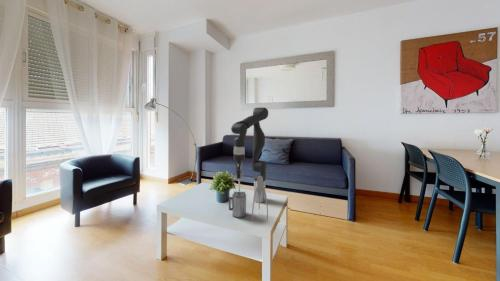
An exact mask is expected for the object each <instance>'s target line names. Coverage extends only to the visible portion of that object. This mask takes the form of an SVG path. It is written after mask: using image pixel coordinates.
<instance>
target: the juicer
mask: <svg viewBox="0 0 500 281" xmlns="http://www.w3.org/2000/svg"><path fill="white" fill-rule="evenodd" d="M257 188H258V189H257ZM257 188H256V189H255V193H254V192H253V198H252V200H253V201H252V210H251V214H252V215H251V216H252V217H251V219H252V220H251V221H252V222H253V221H254V208H255V201H254V200H255V195H256V192H257V191H258V192H259V203H258V209H260V207H261V206H260V205H261V203H260V195H261V192H262V191H264V194H265V204H266V205H265V206H266V220H267V221H269V206H268V198H267V193H266V187H265V188H263V177H262V176H258V178H257ZM262 188H263V189H262Z"/></svg>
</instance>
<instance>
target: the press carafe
mask: <svg viewBox="0 0 500 281" xmlns="http://www.w3.org/2000/svg"><path fill="white" fill-rule="evenodd" d="M228 210H229V211H231V212H232V217H233V218H236V219H243V218H245V217H246V216H247V194H246V191H240V194H239V191H233V193H232V195H231V196H229V197H228Z"/></svg>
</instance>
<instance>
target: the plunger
mask: <svg viewBox="0 0 500 281" xmlns="http://www.w3.org/2000/svg"><path fill="white" fill-rule="evenodd" d="M242 178H243V176H242V173H240V179H238V192H239V194H240V192H241V179H242Z"/></svg>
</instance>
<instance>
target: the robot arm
mask: <svg viewBox="0 0 500 281" xmlns="http://www.w3.org/2000/svg"><path fill="white" fill-rule="evenodd" d="M268 117H269V111H268V108H266V107H255V108H253V111H252V114H251V115H249V116H247V117H246V118H244V119H242V120H240V121H236V122H234V123H233V124H232V125H231V128H230V129H231V130H230V131H231V132H232V133H233V134H236V135H239V136H238V137H235V138H234V139H233V160H234V161H235V162H236V163H235V167H236V168H235V169H236V170H235V174H236V178H237V179H238V180H239V179H240V180H241V178H240V173H242V170H243V162H244V161H245V160H246V157H245V156H246V153H245V152H246V151H245V150H246V147H245V141H246V140H245V139H246V136H247V132H248V130H249V129H250V128H251V127H253V137H252V138H253V142H252V143H253V144H252V146H253V150H252V160H251V168H252V169H251V170H252V172H255V173H260V174H258V175H254V176H253V194H254V193H255V189H256V188H257V178H258V176H262V177H263V188H265V189H266V178H267V177H266V176H267V162H266V161H265V160H259V156H260V153H261V152H262V150H263V149H264V147H265V143H266V135H265V133H264V131H263V129H262V127H261V124H260V122H261V121H263V120H266V119H268ZM263 188H262V189H263ZM257 189H258V188H257ZM254 203H258V204H259V192H258V191H257V192H256V195H255V200H254ZM261 203H262V204H263V203H266V198H265V194H264V191H262V192H261V195H260V204H261Z"/></svg>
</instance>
